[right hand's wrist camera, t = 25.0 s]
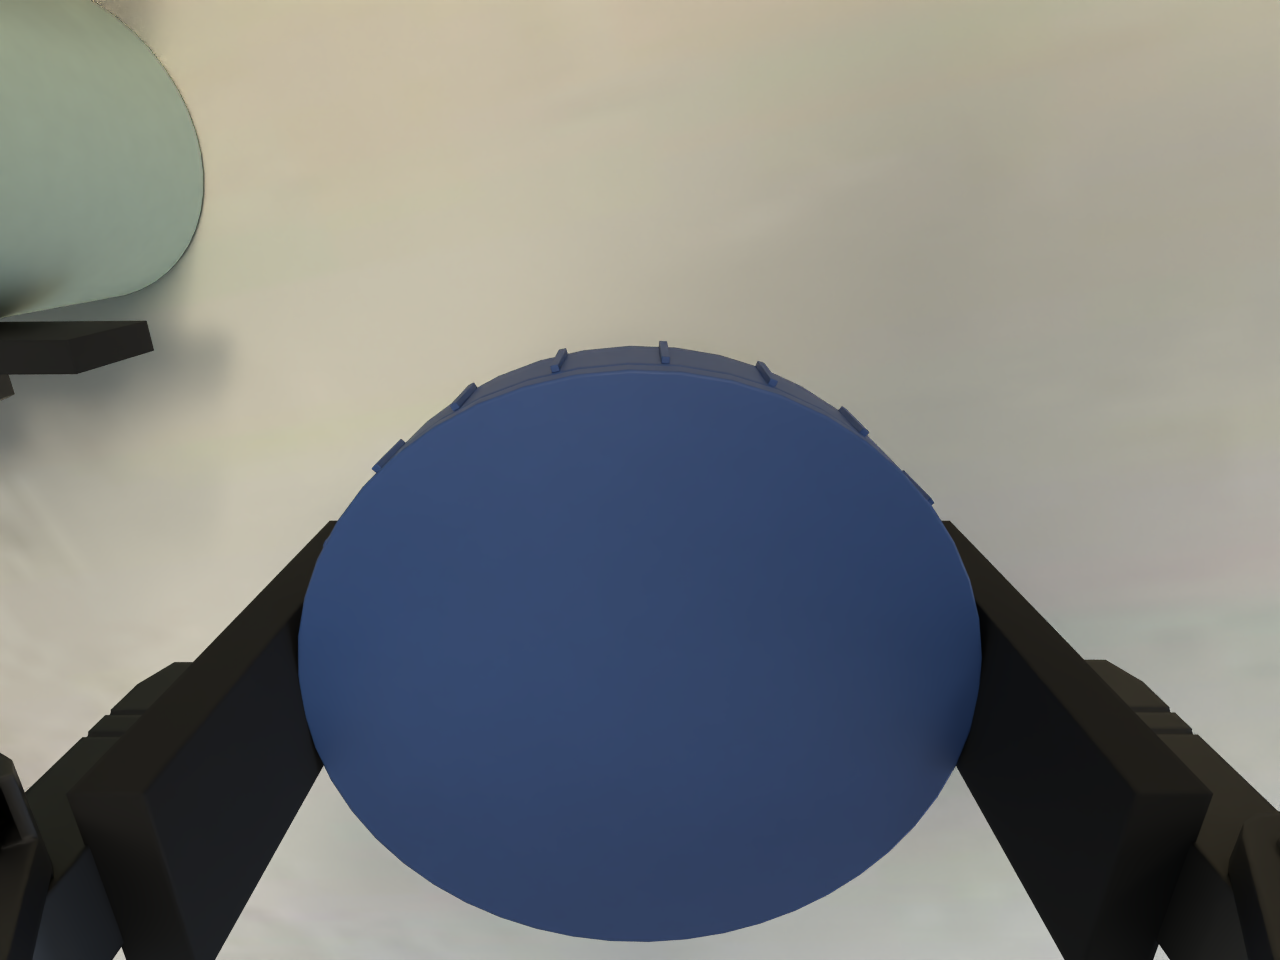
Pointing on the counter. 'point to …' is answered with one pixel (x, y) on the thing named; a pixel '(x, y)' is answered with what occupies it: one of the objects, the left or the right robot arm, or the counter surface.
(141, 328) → the left robot arm
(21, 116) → the jar
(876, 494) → the lid
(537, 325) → the counter surface
